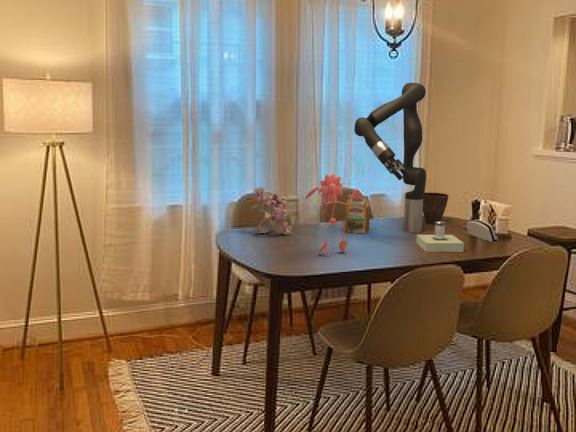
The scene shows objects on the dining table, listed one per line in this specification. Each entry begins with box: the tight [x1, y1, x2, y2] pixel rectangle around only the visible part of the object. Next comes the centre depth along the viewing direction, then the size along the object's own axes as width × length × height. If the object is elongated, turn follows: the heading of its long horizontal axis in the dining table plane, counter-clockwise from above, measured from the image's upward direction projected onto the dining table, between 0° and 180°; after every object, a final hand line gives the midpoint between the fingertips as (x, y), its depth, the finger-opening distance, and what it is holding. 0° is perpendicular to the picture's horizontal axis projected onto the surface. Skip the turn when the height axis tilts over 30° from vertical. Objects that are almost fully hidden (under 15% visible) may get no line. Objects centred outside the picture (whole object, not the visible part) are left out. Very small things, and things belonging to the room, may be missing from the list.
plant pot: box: [423, 192, 449, 225], centre depth 327 cm, size 15×15×16 cm
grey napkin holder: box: [466, 219, 499, 242], centre depth 293 cm, size 17×5×10 cm, turn 23°
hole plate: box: [416, 234, 465, 253], centre depth 272 cm, size 17×17×4 cm
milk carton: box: [344, 194, 371, 235], centre depth 302 cm, size 11×11×19 cm
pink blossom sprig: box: [304, 173, 362, 257], centre depth 259 cm, size 15×26×35 cm, turn 117°
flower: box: [251, 186, 294, 236], centre depth 294 cm, size 20×22×25 cm
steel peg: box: [433, 220, 446, 240], centre depth 271 cm, size 5×5×12 cm
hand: (404, 178), depth 277 cm, fingers open, 8 cm apart
